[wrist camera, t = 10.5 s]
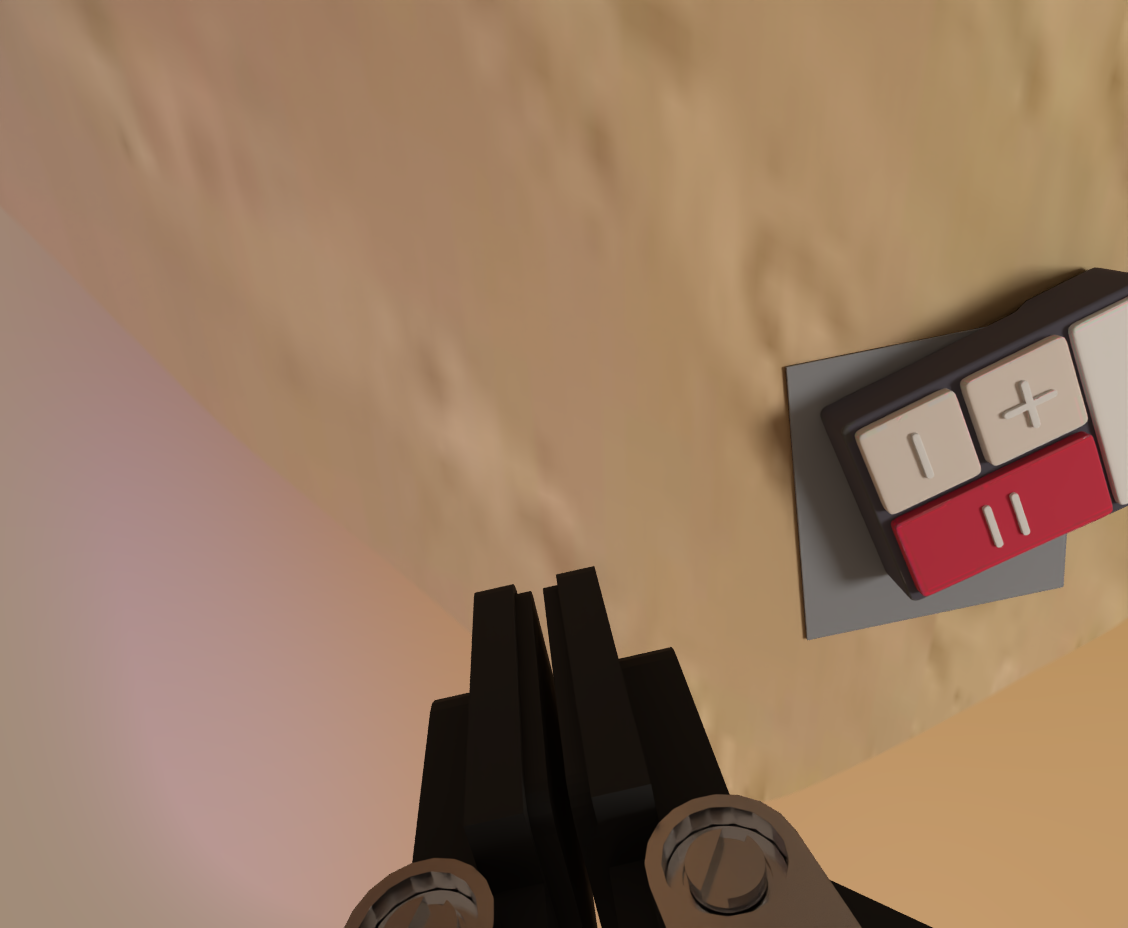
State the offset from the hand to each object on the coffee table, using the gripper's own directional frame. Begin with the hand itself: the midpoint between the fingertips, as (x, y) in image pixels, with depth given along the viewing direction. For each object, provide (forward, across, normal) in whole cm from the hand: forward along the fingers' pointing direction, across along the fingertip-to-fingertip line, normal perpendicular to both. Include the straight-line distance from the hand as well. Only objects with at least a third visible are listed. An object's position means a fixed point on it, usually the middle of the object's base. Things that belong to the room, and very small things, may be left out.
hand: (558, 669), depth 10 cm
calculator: (+27, -23, +11) cm, 37 cm away
